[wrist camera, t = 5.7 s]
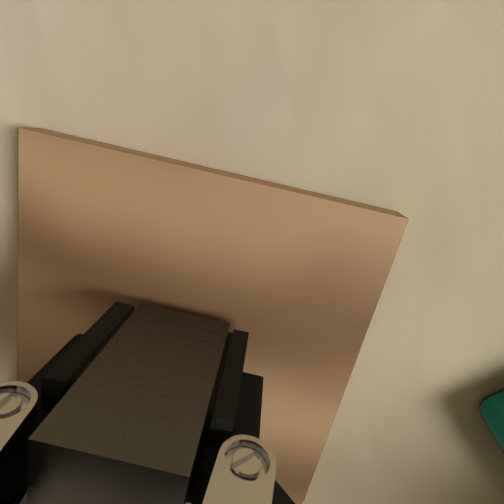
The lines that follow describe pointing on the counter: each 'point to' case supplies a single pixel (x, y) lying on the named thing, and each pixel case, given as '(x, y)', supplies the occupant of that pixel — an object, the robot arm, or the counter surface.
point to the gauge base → (203, 271)
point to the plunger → (131, 416)
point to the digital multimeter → (495, 416)
